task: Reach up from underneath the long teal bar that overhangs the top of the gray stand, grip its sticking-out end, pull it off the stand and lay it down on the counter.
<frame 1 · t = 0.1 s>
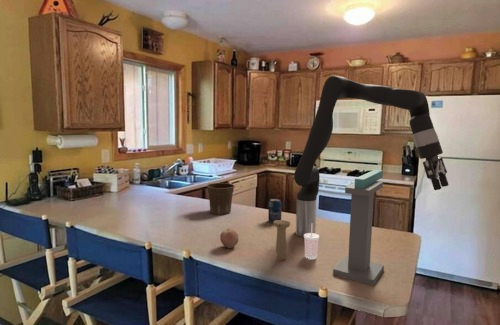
hand: (441, 187, 116), 31 cm above the worktop, tool tilted 20°, fingers open, 8 cm apart
gray stand: (360, 270, 121), on the worktop
apple: (229, 247, 143), on the worktop
plant pot: (220, 212, 196), on the worktop
beverage cup: (310, 257, 133), on the worktop
soda can: (274, 221, 179), on the worktop
handle: (280, 259, 131), on the worktop
teal bar: (369, 182, 122), point 32 cm above the worktop, touching gray stand
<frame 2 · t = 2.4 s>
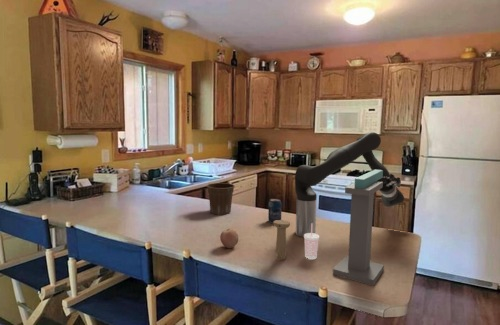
hand: (380, 174, 145), 31 cm above the worktop, tool pointing upward, fingers open, 8 cm apart
nothing on the worktop moved.
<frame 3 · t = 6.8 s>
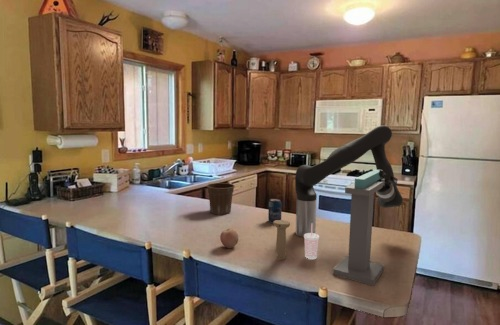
hand: (375, 171, 128), 35 cm above the worktop, tool pointing upward, fingers closed on teal bar, 3 cm apart
teal bar: (369, 182, 122), point 32 cm above the worktop, touching gray stand, gripper
everything else where it was.
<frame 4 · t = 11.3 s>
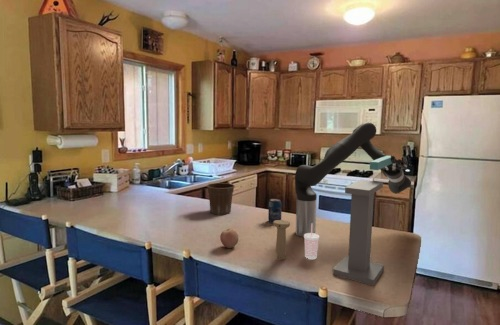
hand: (387, 157, 142), 39 cm above the worktop, tool pointing upward, fingers closed on teal bar, 3 cm apart
teal bar: (382, 165, 137), point 36 cm above the worktop, touching gripper
everything else where it was.
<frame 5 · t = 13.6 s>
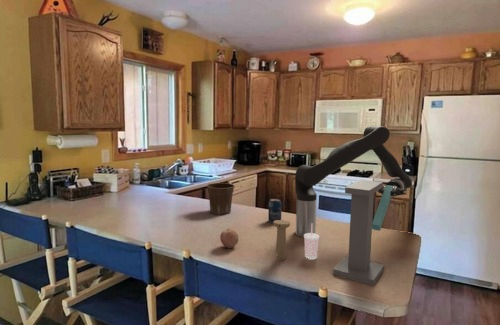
hand: (386, 192, 147), 23 cm above the worktop, tool horizontal, fingers closed on teal bar, 3 cm apart
teal bar: (383, 209, 144), point 16 cm above the worktop, tilted 28°, touching gripper
everything else where it was.
when the fingers open (14 cm above the worktop, at t = 16.0 s): teal bar drops 8 cm, on the worktop.
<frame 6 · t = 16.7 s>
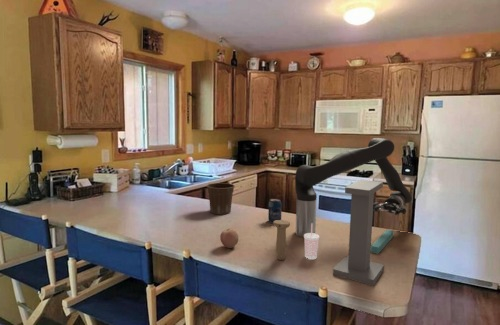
hand: (385, 211, 149), 14 cm above the worktop, tool horizontal, fingers open, 8 cm apart
teal bar: (382, 244, 148), on the worktop
everything else where it was.
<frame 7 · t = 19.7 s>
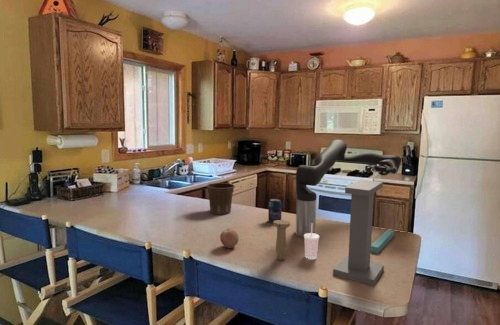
hand: (377, 170, 159), 31 cm above the worktop, tool horizontal, fingers open, 8 cm apart
nothing on the worktop moved.
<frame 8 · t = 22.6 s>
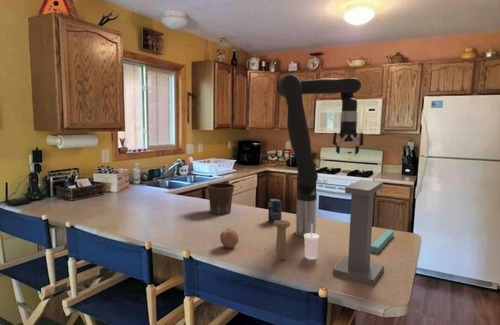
hand: (347, 153, 163), 38 cm above the worktop, tool pointing down, fingers open, 8 cm apart
nothing on the worktop moved.
at the end: teal bar inside the target area (0.5 cm from its centre), on the worktop; the gripper is holding nothing; teal bar moved 42.0 cm from its start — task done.
